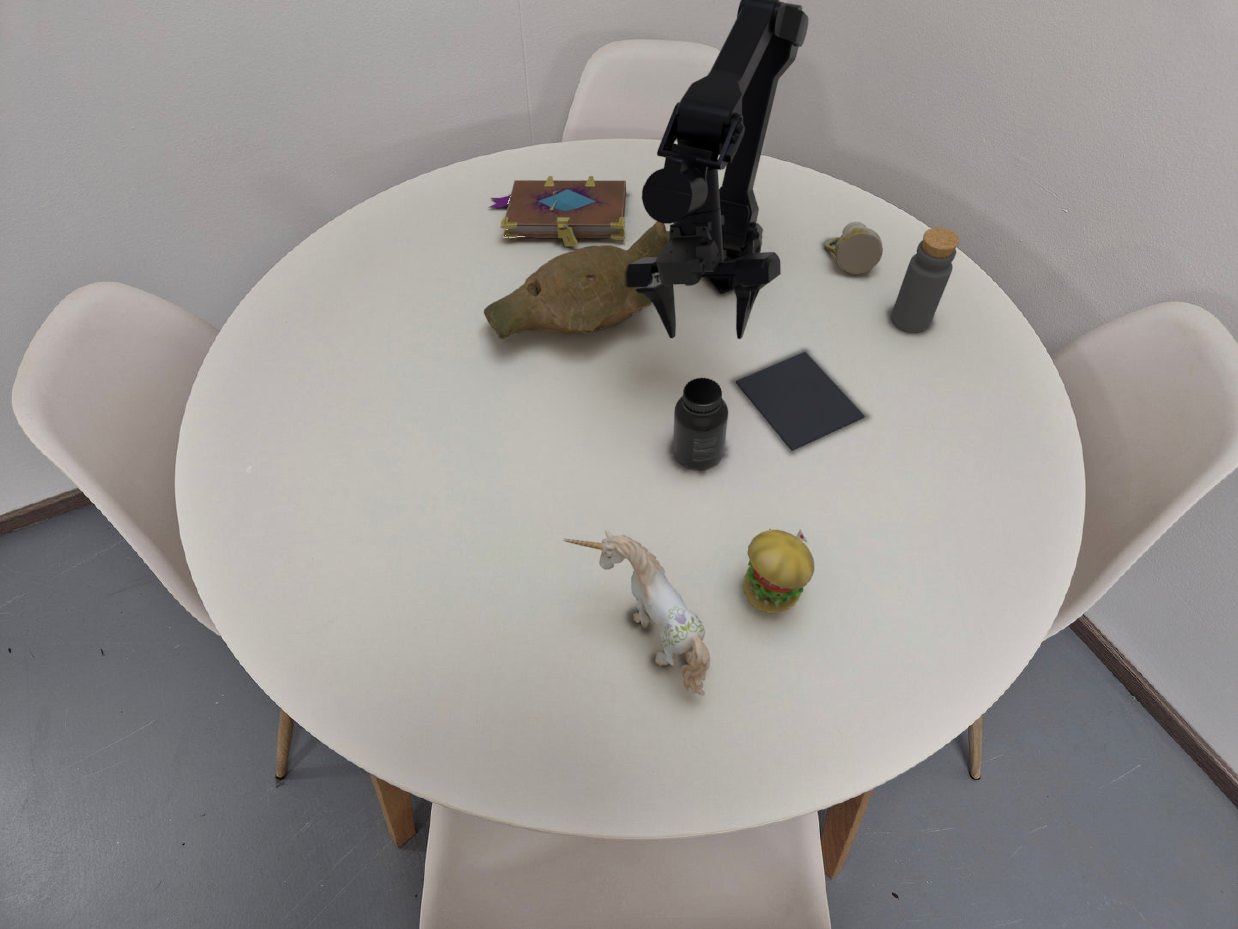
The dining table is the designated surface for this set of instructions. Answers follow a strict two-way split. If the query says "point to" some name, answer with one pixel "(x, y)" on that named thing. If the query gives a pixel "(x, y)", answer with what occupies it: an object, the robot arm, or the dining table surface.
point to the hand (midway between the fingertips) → (705, 337)
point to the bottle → (925, 280)
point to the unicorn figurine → (659, 606)
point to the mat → (799, 400)
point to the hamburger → (777, 570)
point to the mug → (856, 248)
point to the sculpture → (577, 290)
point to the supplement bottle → (700, 424)
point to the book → (565, 209)
